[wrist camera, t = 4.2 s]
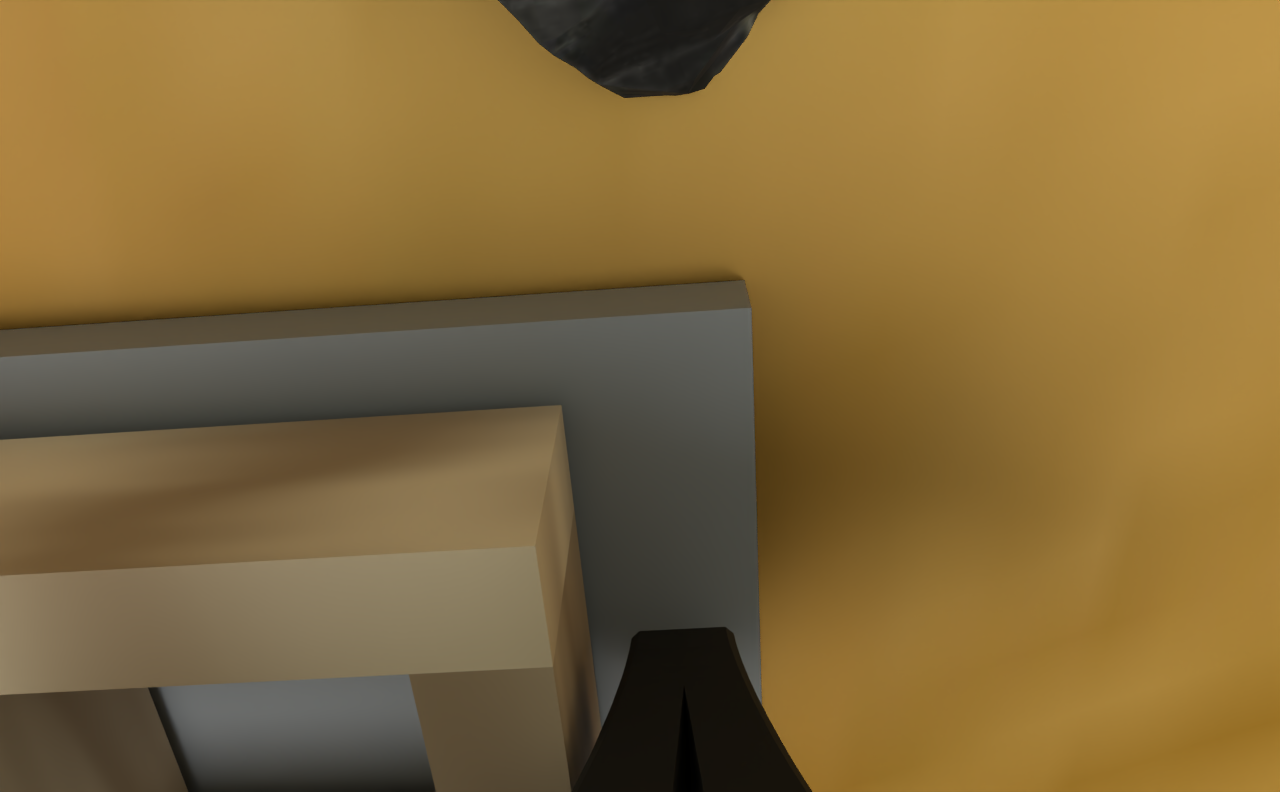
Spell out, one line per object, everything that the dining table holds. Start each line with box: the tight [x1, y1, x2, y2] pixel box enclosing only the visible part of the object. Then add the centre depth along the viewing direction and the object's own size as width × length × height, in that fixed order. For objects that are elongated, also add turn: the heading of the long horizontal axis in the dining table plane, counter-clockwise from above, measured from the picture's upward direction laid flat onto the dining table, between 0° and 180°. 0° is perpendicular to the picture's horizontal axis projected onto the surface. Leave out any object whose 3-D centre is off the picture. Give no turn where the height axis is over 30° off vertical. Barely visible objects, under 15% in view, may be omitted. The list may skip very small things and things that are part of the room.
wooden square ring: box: [0, 405, 601, 792], centre depth 13 cm, size 8×8×3 cm
